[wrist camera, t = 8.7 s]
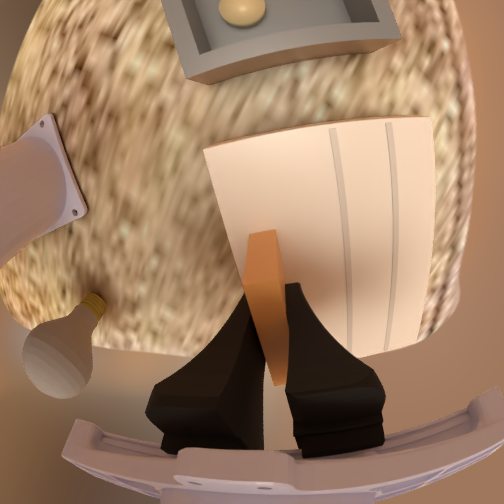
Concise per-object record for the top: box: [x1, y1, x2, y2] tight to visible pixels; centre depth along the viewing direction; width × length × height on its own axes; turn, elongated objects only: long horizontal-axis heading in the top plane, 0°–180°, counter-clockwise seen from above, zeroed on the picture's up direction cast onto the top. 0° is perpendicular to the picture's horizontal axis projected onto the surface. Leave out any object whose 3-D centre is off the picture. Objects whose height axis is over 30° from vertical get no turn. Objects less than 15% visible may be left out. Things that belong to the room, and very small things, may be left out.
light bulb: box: [22, 293, 106, 399], centre depth 16 cm, size 6×5×10 cm
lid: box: [203, 115, 435, 386], centre depth 12 cm, size 10×14×6 cm
